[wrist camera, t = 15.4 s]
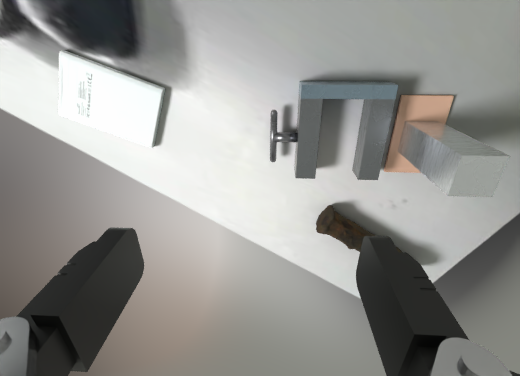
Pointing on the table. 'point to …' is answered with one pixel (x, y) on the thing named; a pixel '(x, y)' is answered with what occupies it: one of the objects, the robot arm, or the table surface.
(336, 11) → the table surface
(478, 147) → the steel bar
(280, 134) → the vise
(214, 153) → the table surface
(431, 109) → the mat
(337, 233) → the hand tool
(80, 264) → the robot arm
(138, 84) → the external hard drive
